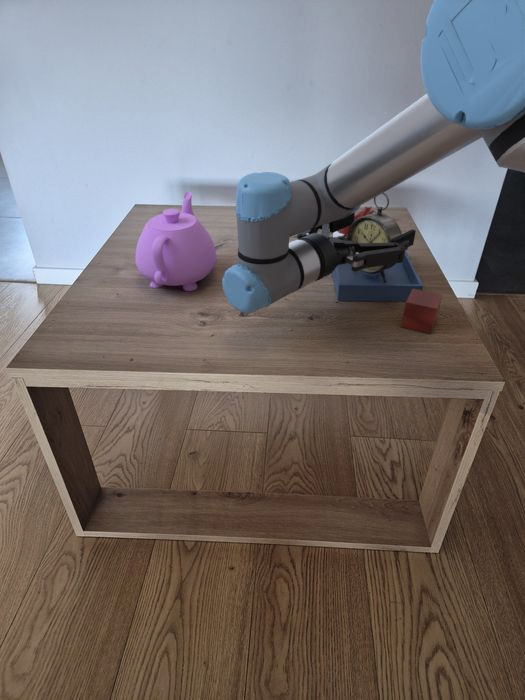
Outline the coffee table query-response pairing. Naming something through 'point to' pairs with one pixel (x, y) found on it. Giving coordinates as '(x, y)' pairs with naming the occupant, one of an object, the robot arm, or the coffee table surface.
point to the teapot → (175, 248)
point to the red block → (421, 311)
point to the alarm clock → (374, 233)
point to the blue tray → (376, 283)
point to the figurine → (345, 230)
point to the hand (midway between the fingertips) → (381, 226)
